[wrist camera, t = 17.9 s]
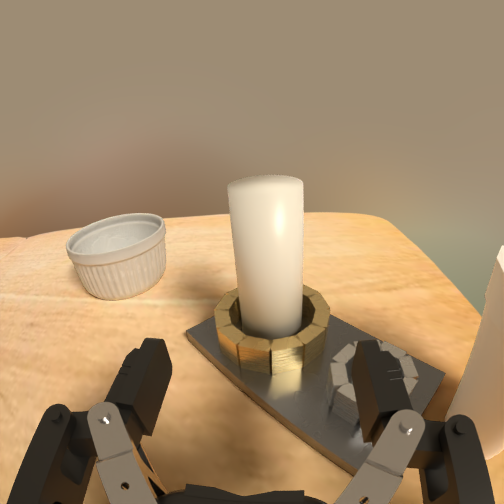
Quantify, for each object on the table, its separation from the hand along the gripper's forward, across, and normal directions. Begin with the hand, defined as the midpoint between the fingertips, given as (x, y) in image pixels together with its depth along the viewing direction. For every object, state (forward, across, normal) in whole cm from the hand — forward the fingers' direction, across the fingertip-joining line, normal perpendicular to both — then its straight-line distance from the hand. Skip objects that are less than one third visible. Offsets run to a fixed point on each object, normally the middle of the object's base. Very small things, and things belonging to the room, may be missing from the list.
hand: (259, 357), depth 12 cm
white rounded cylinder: (+11, 0, +9) cm, 14 cm away
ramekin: (+22, +19, +10) cm, 31 cm away
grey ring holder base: (+8, -3, +10) cm, 13 cm away
